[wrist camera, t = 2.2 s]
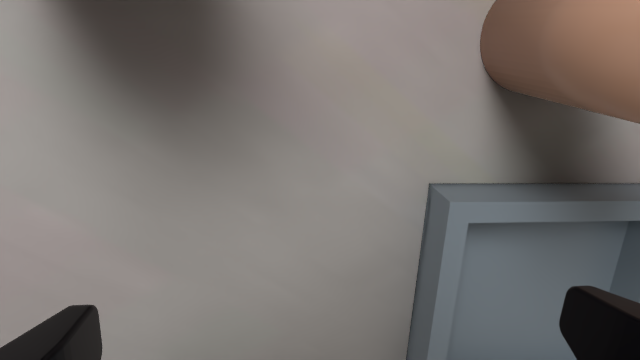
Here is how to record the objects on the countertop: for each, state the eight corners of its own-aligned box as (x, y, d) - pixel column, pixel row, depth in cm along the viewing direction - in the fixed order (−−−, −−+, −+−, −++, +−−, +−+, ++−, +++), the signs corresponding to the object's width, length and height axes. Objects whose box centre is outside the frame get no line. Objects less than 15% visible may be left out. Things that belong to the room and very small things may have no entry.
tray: (403, 383, 26) (418, 418, 24) (429, 183, 23) (450, 202, 20) (592, 370, 28) (623, 401, 26) (646, 183, 24) (688, 200, 22)
